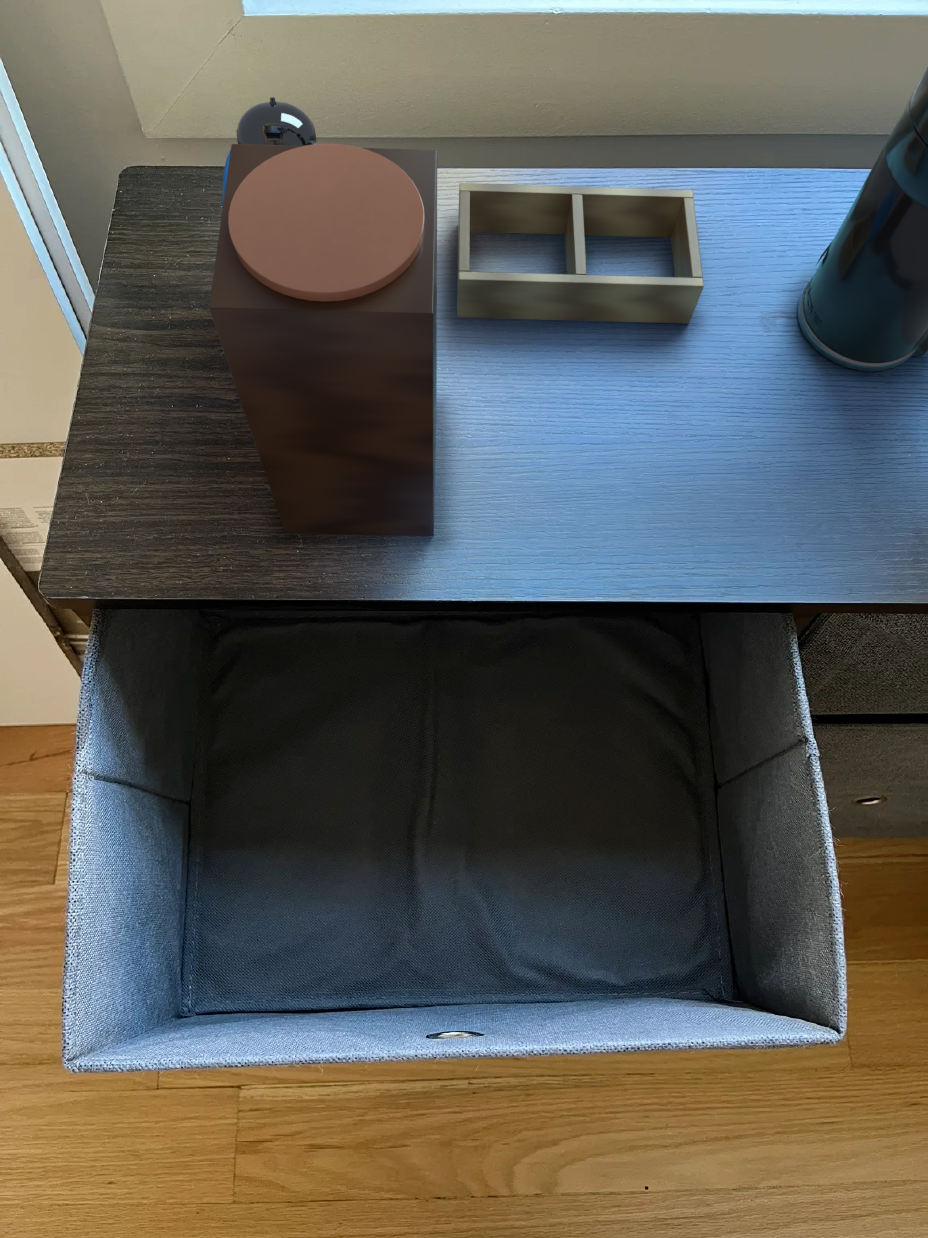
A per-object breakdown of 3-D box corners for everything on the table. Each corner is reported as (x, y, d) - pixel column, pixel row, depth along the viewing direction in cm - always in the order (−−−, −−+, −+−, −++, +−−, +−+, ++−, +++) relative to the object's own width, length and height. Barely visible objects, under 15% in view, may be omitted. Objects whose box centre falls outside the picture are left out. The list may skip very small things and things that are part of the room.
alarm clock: (265, 252, 69) (221, 69, 55) (345, 251, 69) (322, 70, 55) (256, 394, 64) (206, 234, 50) (342, 393, 64) (317, 233, 51)
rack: (679, 230, 71) (693, 189, 67) (689, 323, 68) (704, 286, 64) (458, 223, 71) (459, 182, 67) (457, 317, 67) (458, 279, 64)
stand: (436, 411, 64) (437, 149, 44) (433, 536, 60) (433, 313, 40) (296, 408, 64) (231, 142, 43) (285, 533, 60) (208, 307, 40)
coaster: (426, 156, 44) (426, 145, 43) (422, 304, 40) (422, 295, 40) (240, 150, 43) (238, 139, 43) (220, 299, 40) (217, 289, 39)
